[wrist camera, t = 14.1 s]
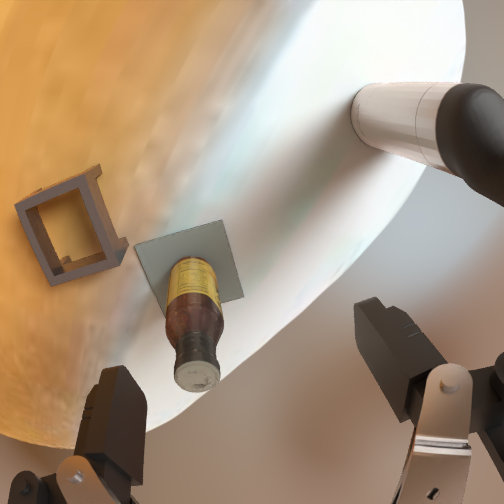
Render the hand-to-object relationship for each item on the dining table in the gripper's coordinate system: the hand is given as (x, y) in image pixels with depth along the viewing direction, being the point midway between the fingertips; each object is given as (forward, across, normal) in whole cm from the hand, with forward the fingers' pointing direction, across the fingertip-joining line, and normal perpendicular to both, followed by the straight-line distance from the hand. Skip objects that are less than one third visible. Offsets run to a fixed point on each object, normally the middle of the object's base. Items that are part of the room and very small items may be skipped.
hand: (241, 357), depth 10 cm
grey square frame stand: (+32, +18, +1) cm, 37 cm away
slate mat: (+32, +6, +13) cm, 35 cm away
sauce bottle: (+32, +6, +13) cm, 35 cm away
